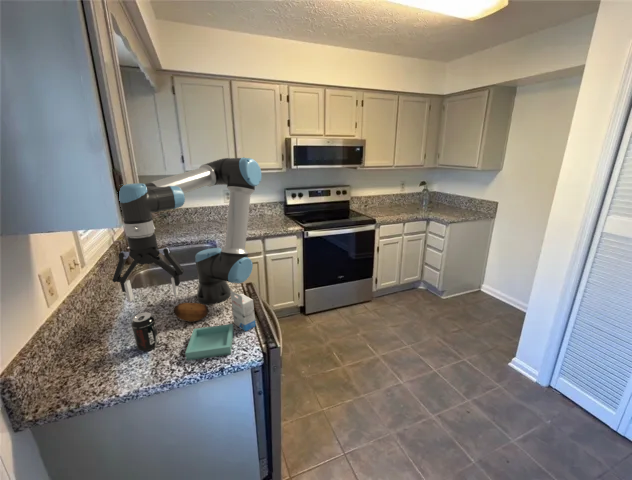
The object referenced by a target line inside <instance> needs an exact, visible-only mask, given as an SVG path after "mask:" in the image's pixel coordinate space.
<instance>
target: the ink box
mask: <svg viewBox="0 0 632 480" xmlns="http://www.w3.org/2000/svg"><path fill="white" fill-rule="evenodd" d="M230 292H231V295H230V301H231V307H232V317H233V323H234V324H233V325H235V326H237V327H238V328H240V329H241V330H243V331H244V332H248V331H250V330H251V329H253V328H255V327H256V318H255V309H254V308H255V305H254V299H252V298H250V297H249V296H247V295H245V294H243V293H237V292H235V291H232V290H231V291H230Z"/></svg>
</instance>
